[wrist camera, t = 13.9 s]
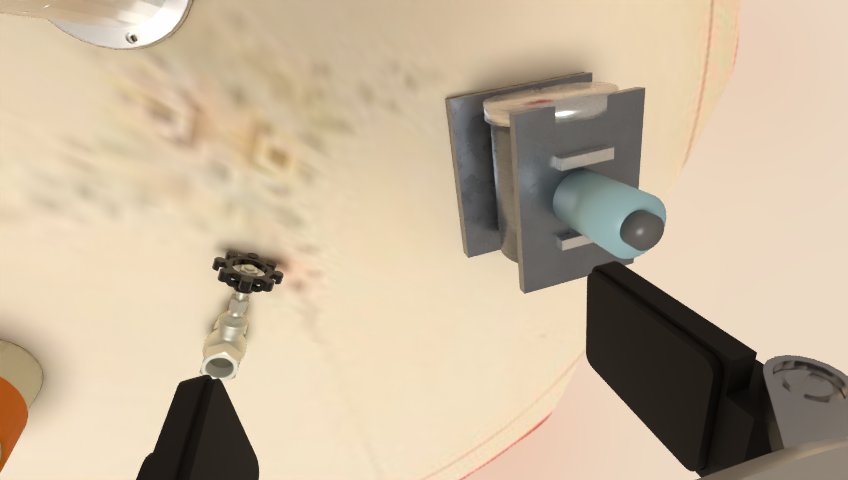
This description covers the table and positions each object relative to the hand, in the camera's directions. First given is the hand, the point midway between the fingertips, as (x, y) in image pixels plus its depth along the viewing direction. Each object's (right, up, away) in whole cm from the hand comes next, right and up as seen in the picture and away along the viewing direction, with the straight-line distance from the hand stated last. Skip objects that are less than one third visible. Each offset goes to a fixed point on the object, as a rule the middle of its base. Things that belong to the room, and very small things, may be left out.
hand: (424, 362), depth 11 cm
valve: (-20, -4, +37) cm, 42 cm away
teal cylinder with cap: (+14, +7, +28) cm, 32 cm away
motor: (+11, +11, +39) cm, 42 cm away
